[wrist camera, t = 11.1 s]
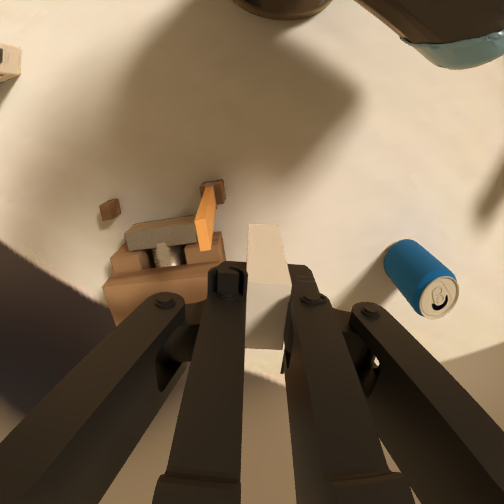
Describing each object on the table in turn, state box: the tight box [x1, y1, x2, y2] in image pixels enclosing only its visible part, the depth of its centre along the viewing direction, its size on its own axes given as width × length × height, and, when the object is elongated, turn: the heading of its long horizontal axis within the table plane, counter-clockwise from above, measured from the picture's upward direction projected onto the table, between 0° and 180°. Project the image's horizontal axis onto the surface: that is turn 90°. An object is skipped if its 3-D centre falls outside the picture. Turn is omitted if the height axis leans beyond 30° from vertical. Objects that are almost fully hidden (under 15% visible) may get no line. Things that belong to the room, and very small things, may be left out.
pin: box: [125, 215, 198, 268], centre depth 43 cm, size 18×9×4 cm, turn 7°
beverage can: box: [384, 239, 459, 319], centre depth 38 cm, size 6×6×12 cm
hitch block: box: [99, 180, 226, 327], centre depth 39 cm, size 15×16×9 cm
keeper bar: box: [195, 183, 217, 251], centre depth 30 cm, size 3×15×1 cm
